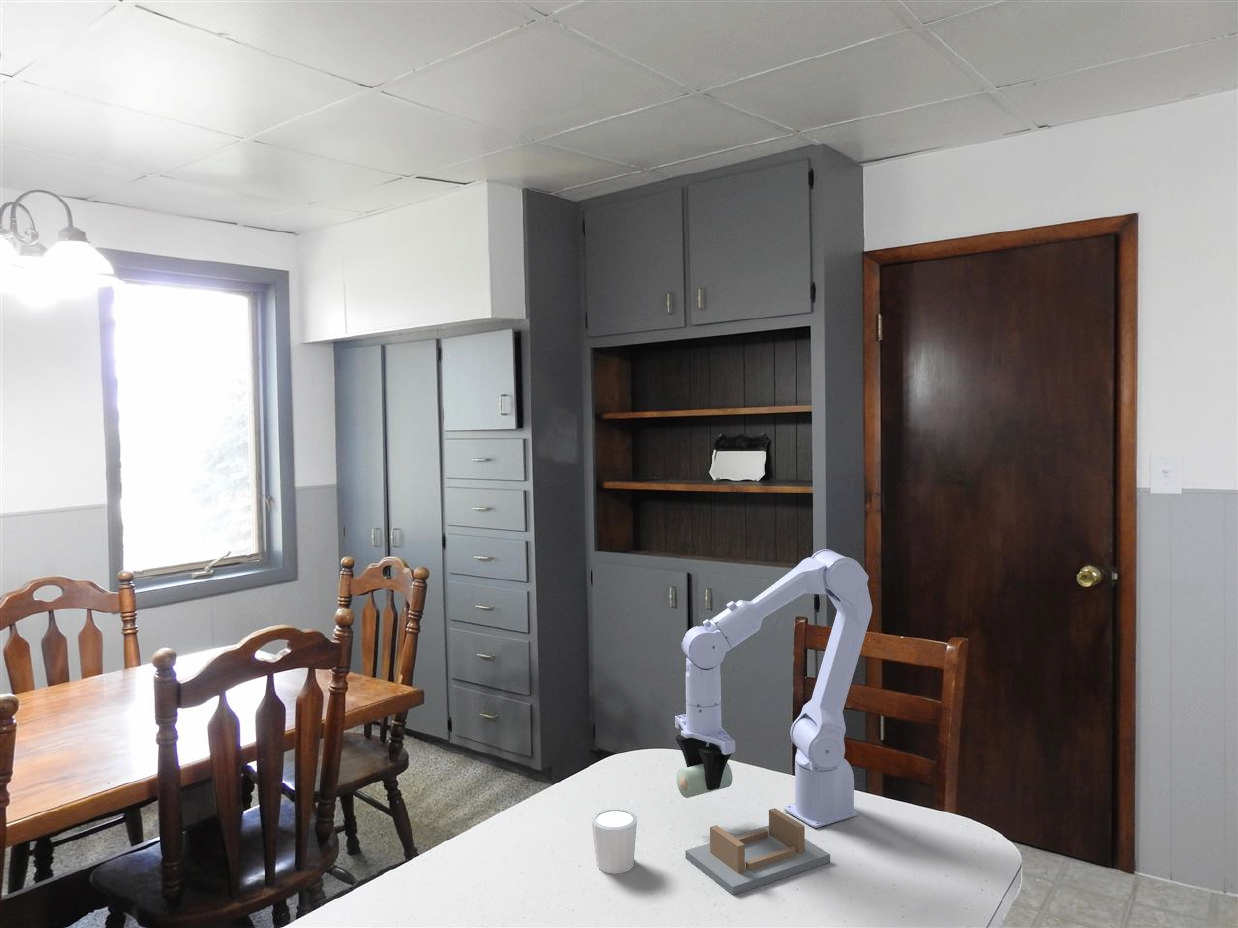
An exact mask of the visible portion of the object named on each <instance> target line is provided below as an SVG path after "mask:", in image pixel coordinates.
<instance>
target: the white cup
mask: <svg viewBox="0 0 1238 928" xmlns="http://www.w3.org/2000/svg"><path fill="white" fill-rule="evenodd" d="M591 827H592V834H593V835H592V836H593V845H594V854H595V855H594V856H595V863H596V867H597V869H598V870H600V871H602V872H604V873H608V874H620V873H621V874H622V873H625V872H628V871H630V870H632V869H633V867H634V865H635V864H634V863H635V852H636V851H635V849H636V838H637V827H638V817H637V816H636V814H635V813H633V812H631V811H629V810H626V809H620V808H619V809H617V808H609V809H605V810H601V811H599V812H597V813H595V814H594V815H593V816H592V817H591Z"/></svg>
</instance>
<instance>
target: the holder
mask: <svg viewBox="0 0 1238 928" xmlns="http://www.w3.org/2000/svg"><path fill="white" fill-rule="evenodd" d="M805 827H806V826H805V825H804V824H802V823H801V822H799V821H797V820H795V819H794V818H792V817H790V816H788V815H787V814H786V813H784V812H782V811H781V810H779V809H777V808H775V807H774V808H771V809H768V825H764V826H762V827H759V828H756V829H752V830H749V831H746V832H743V833H739V834H736V835H732V834H730V833H729V832H727V831H726V830H724V829H723V828H722V827H720V826H719V825H717V824H715V825H712V826H710V827H709V843H706V844H702V845H698V846H696V847H691V848H689V849H686V850H685V853H684V855H685V857H684V858H685V859H686V860H688V861H689V863H691V864H693V865H694V866H695V867H696V868H698V869H699V870H700V871H701V872H702V873H704V874H705V875H706V876H708V877H709V878H710V879H712V880H713V881H714V882H715V883H717V884H718V885H719V886H720V887H722V888H723V889H724V890H726V891H727V892H728V893H729V894H730V895H732V896H734V895H737V894H740V893H743V892H746V891H749V890H752V889H754V888H755V889H756V888H757V887H758V888H759V887H761V886H763V885H766V884H769V883H770V884H771V883H773V882H775V881H779V880H781V879H784V878H788V877H790V876H793V875H796V874H799V873H802V872H805V871H808V870H811V869H814V868H817V867H819V866H823V865H825V864H828V863H831V853H829V852H827V851H826V850H824V849H823V848H821V847H819V846H818V845H816V844H815V843H813V842H811V841H810V840H808V839H807V838H805V836H806V835H805V831H806V830H805Z"/></svg>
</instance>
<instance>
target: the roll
mask: <svg viewBox="0 0 1238 928" xmlns="http://www.w3.org/2000/svg"><path fill="white" fill-rule="evenodd" d="M732 784H733V771H732V768H731V766H730V763H728V762H727V764H726V766H725V769H724V772H723V776H722V780H721V784H720V788H718V789H714V790H708V789H707V786H706V781H705V770H704V765H703V764H699V765H696V766H692V767H688V768H687V767H684V768H681V769H678V770H677V773H676V785H677V789H678V791H679V793H680V794H681V796H682V797H683V798H685V799H689V798H692V797H696V796H700V795H703V794H704V795H705V794H708V793H711V792H714V791H719V790H722V789H726V788H729V787H730V786H731V785H732Z"/></svg>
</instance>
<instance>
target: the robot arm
mask: <svg viewBox="0 0 1238 928" xmlns="http://www.w3.org/2000/svg"><path fill="white" fill-rule="evenodd" d="M868 581H869V575H868V574H867V572H866V571H865V570H864V568H863V567H862V566H861V564H860V563H859V561H857V560H855V559H853V558H851V557H848V556H844V555H842V554H840V553H838V552H836V551H835V550H832V549H826V548H825V549H820V550H818V551H816V552H815V553H814V554H812V556H811V557H806V558H804V559H802V560H801V561H800V562H799V564H797V565H796V566H795V567H794V568H793V569H791V570H790V571H789V572H787V574H785V575H784V576H783V577H781V578H780V579H779V580H777V581H775V582H774V583H773V584H772V585H771V586H769V587H768V588H767V589H765V590H764V591H763V592H761V593H760V594H759V595H757V596H755V598H753V599H752V600H751V601H748V600H742V599H739V600H738V601H736V602H735V601H733V600H731V601H729V602H728V603H727V604H726V605H725V606H726V607H727V608H726V609H724V610H723V611H721V612H720V613H718V614H717V615H715V616H714V617H712V618H711V619H708V618H707V619H705V620H704V621H702V624H703V625H700V626H698V625H696V626H693V627H692V628H690V629H689V630H688V631H686V633H685V634H684V637H683V639H682V642H681V643H680V645H681V649H682V651H683V653H684V654H685V656H686V659H685V670H686V671H685V714H680V715H675V716H674V724H675V725H674V727H675V728H676V729H678V730H680V729H681V730H680V734H678V735H676V736H675V741H676V743H677V744H678V746H679V748H680V751H681V752H682V755H683V757H684V761H685V765H686V768H688V767H692V766H696V765H699V764H703V765H704V770H705V781H706V786H707V789H708V790H714V789H718V788H720V784H721V780H722V776H723V772H724V769H725V766H726V764H727V763H728V761H729V760H730V757H731V756H732V754H735V753H736V741H735V739H733V738H732V737H731V736H730V735H729V733H728V732H727V731H726V730H725V729H724V727H722V689H721V688H722V682H721V681H722V679H721V678H722V677H721V676H722V675H721V664H722V663H723V661H724V659H725V658H726V653H727V652H730V651H731V650H732V649H734V648H735V647H737V646H738V645H740V643H743V641H745V640H747V639H748V638H749V637H751V636H752V635H754V634H756V633H757V632H758V631H760V630H761V627H762V624H763V620H764V618H766V617H767V616H769V615H771V614H772V613H774V612H776V611H777V610H779V609H780V608H782V607H784V606H785V605H787V604H789V603H790V602H793V601H794V600H795V599H797V598H799V597H800V596H802V595H805V594H807V595H808V594H810V595H826V594H827V597H828V598H829V599H830V601H831V603H832V604H833V606H834V607H835V609H836V614H835V618H834V622H833V625H832V628H831V631H830V635H829V637H828V641H827V645H826V648H825V650H824V655H823V659H822V662H821V666H820V668H819V673H818V675H817V678H816V679H817V680H816V682H815V686H814V689H813V692H812V696H811V699H810V700H808V702H806V703H805V704H803V706H802V709H801V712H800V714H799V715H798V717H797V718H796V719H795V720H794V722H793V723H792V725H791V727H790V739H791V741H792V743H793V744H794V745H795V747H796V754H795V756H794V757H795V758H794V759H795V760H794V761H795V762H794V772H795V773H794V776H795V777H794V778H795V780H794V784H795V785H794V787H795V789H794V791H795V792H794V793H795V794H794V797H795V798H794V799H795V802H794V803H793V804H789V805H786V806H784V807H783V809H784V812H787V813H788V814H790V815H792V816H793V817H795V818H797V819H798V820H801V821H802V822H804V823H806V824H807V825H809V826H811V828H815V829H816V828H817V829H818V828H820V827H824V826H827V825H831V824H833V823H837V822H840V821H843V820H847V819H849V818H853V817H856V816H858V813H859V812H858V811H856V810H855V778H854V777H855V775H854V771H853V768H852V765H851V764H850V763H849V761H848V760H847V759H845V754H846V744H845V734H846V731H847V729H846V722H845V718H844V714H843V713H844V712H843V711H844V708H845V704H846V701H847V697H848V695H849V692H850V687H851V684H852V681H853V678H854V674H855V670H856V667H857V664H858V660H859V657H860V654H861V651H862V648H863V647H862V646H863V644H864V640H865V636H866V633H867V630H868V626H869V623H870V620H871V616H872V614H873V613H872V612H873V605H872V601H871V600H872V599H871V597H870V592H869V591H870V590H869V587H868ZM707 744H708V746H707Z"/></svg>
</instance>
